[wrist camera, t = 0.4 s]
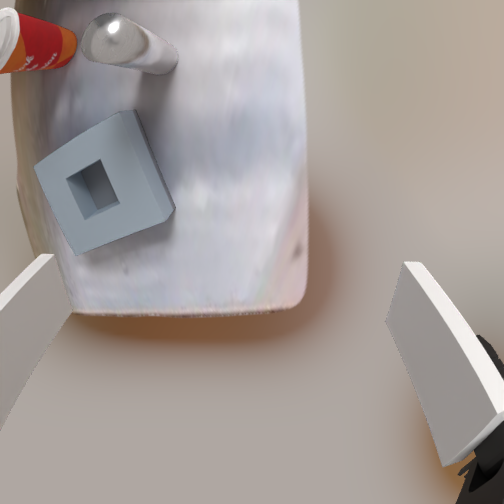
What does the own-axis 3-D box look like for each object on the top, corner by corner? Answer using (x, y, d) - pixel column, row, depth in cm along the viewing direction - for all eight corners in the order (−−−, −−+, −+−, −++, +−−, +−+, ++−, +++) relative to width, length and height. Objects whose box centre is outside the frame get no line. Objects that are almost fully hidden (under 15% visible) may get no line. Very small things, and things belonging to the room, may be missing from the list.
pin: (140, 52, 27) (76, 31, 15) (172, 37, 27) (120, 3, 14) (151, 80, 29) (88, 71, 16) (183, 66, 28) (135, 44, 16)
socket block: (52, 158, 33) (33, 166, 29) (135, 109, 30) (119, 111, 26) (90, 241, 38) (75, 256, 34) (175, 207, 36) (165, 221, 32)
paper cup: (33, 74, 27) (-41, 79, 15) (50, 22, 24) (-21, 10, 11) (74, 79, 28) (-3, 81, 16) (93, 23, 25) (22, 2, 12)
